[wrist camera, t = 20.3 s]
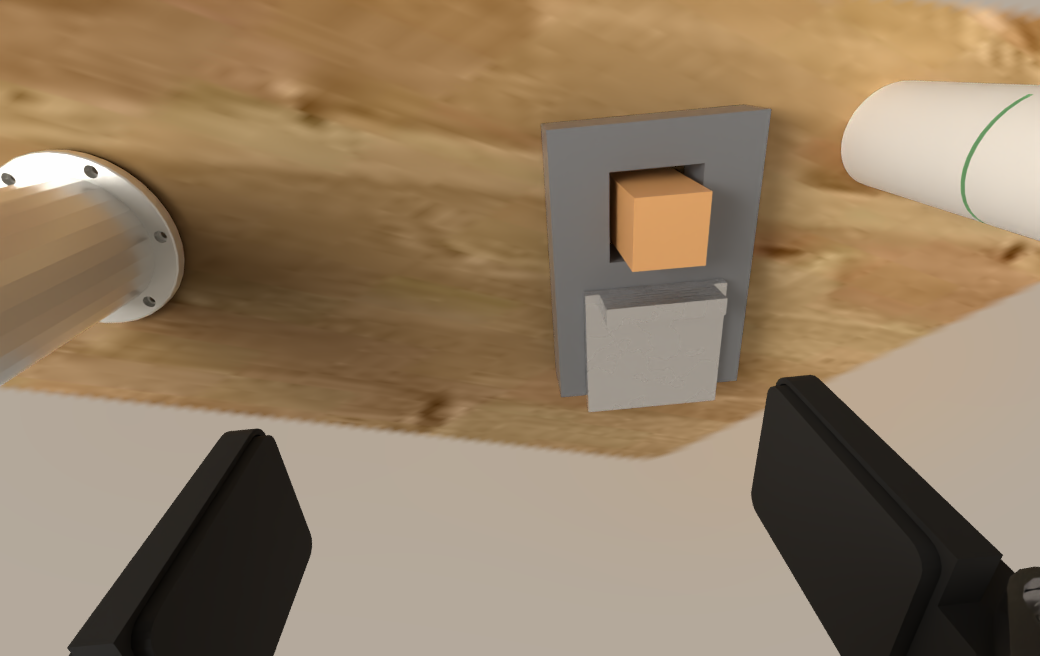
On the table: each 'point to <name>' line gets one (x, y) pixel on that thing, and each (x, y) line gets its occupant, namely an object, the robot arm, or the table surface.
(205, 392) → the table surface
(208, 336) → the table surface
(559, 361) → the socket block
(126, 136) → the table surface
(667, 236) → the plug peg
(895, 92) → the cylindrical container
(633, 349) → the panel
